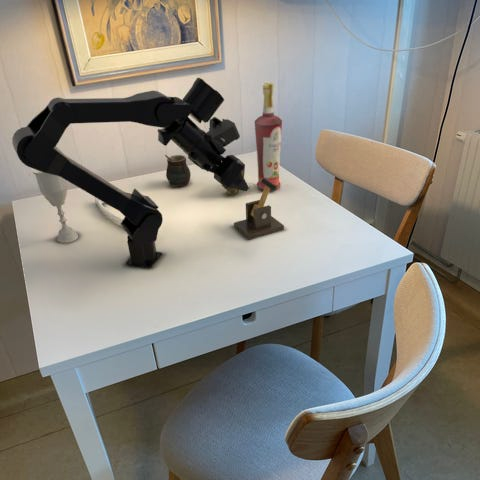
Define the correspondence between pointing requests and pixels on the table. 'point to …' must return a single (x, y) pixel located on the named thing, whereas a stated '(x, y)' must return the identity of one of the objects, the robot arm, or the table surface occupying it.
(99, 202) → the door handle
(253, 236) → the bracket
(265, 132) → the liquor
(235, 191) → the cup
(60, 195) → the chalice
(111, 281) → the table surface
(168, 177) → the mate gourd
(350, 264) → the table surface
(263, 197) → the lever
